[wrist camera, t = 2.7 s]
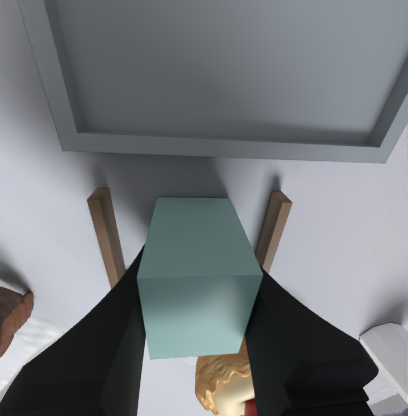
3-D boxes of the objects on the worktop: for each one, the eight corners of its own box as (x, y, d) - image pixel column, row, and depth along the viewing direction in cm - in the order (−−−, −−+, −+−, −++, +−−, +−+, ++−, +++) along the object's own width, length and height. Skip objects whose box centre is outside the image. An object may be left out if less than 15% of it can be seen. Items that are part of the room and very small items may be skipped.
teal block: (230, 198, 12) (263, 274, 7) (219, 265, 15) (238, 353, 10) (157, 197, 12) (136, 277, 7) (161, 266, 15) (150, 359, 10)
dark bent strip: (281, 191, 12) (292, 202, 11) (255, 280, 17) (260, 296, 16) (97, 187, 11) (86, 200, 10) (120, 285, 16) (115, 302, 14)
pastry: (314, 306, 21) (394, 427, 13) (270, 360, 26) (309, 469, 19) (207, 302, 18) (231, 453, 10) (183, 363, 24) (187, 492, 16)
